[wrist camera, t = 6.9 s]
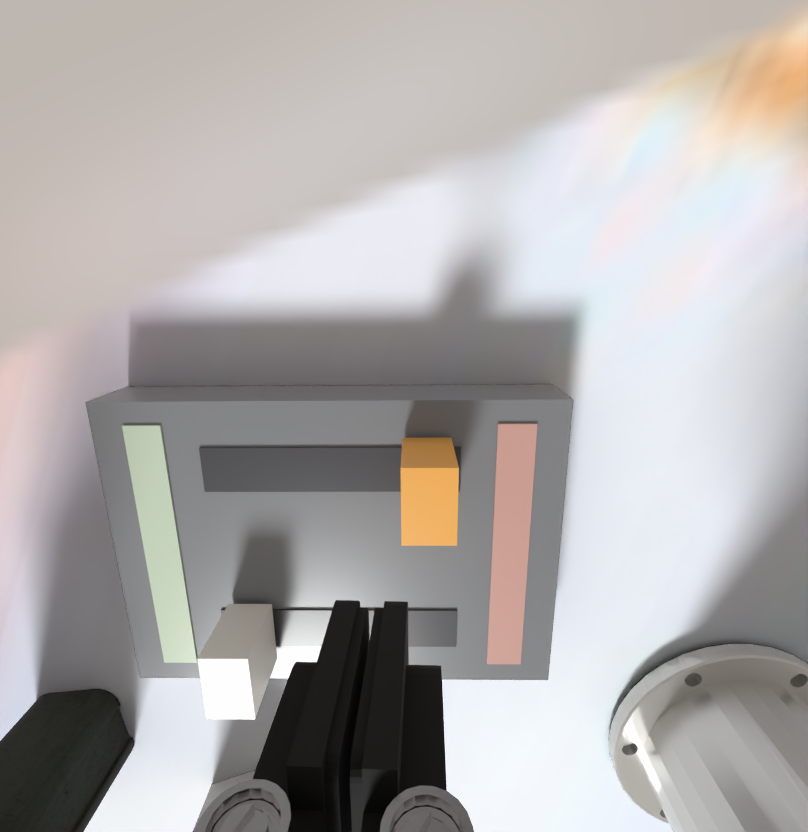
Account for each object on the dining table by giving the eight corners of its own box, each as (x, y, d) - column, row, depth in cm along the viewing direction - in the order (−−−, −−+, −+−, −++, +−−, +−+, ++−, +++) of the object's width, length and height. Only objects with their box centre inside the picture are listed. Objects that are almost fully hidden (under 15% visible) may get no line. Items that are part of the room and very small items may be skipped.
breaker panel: (552, 383, 22) (608, 425, 16) (532, 635, 26) (572, 750, 20) (127, 386, 22) (15, 427, 16) (169, 634, 26) (92, 746, 20)
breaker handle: (451, 437, 19) (458, 467, 16) (450, 504, 20) (457, 545, 17) (402, 437, 19) (400, 468, 16) (403, 504, 20) (401, 545, 17)
